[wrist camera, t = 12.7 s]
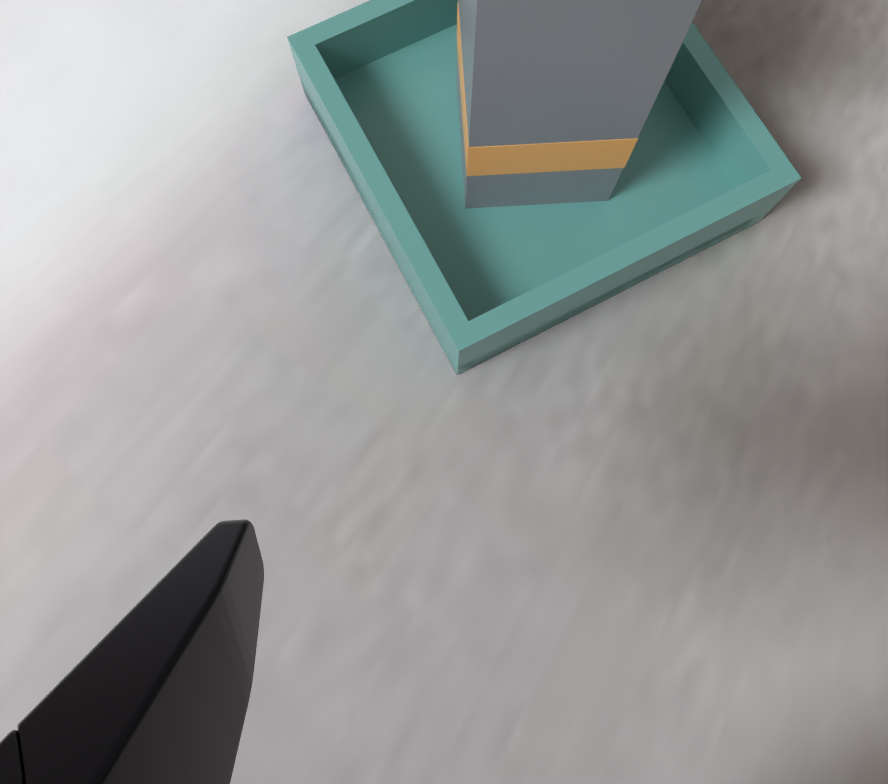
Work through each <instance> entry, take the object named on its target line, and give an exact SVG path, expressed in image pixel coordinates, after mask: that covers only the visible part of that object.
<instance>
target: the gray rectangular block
mask: <svg viewBox="0 0 888 784" xmlns="http://www.w3.org/2000/svg"><path fill="white" fill-rule="evenodd" d="M701 2H702V0H458V2H457V74H456V85H457V100H458V114H459V128H460V142H461V156H462V171H463V185H464V199H465V209H468V208H486V207H504V206H522V205H541V204H559V203H577V202H596V201H608V200H609V198H610V195H611V193H612V191H613V189H614V187H615V185H616V183H617V181H618V178H619V176H620V174H621V172H622V170H623V168H625V166H626V163H627V161H628V159H629V157H630V155H631V153H632V151H633V149H634V147H635V144H636V142H637V140H638V136H639V134H640V132H641V130H642V127H643V125H644V123H645V121H646V119H647V117H648V115H649V112H650V110H651V108H652V106H653V104H654V102H655V100H656V98H657V95H658V93H659V91H660V89H661V87H662V85H663V83H664V81H665V78H666V76H667V74H668V72H669V70H670V68H671V66H672V64H673V61H674V59H675V57H676V55H677V53H678V51H679V49H680V47H681V44H682V42H683V40H684V38H685V36H686V34H687V32H688V29H689V27H690V25H691V23H692V21H693V19H694V17H695V15H696V12H697V10H698V8H699V6H700V4H701Z"/></svg>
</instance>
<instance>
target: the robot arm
mask: <svg viewBox="0 0 888 784" xmlns="http://www.w3.org/2000/svg"><path fill="white" fill-rule="evenodd" d="M263 582H264V567H263V561H262V557H261V553H260V549H259V545H258V542H257V538H256V534H255V530H254V527H253V525H252V523H251V522H250V521H248V520H231V521H222V522H219V523H218V524H216V525H215V526H214V527H213V528H212V529H211V530H210V531H209V532H208V533H207V534H206V535H205V536H204V537H203V538H202V539H201V540H200V541H199V542H198V543H197V544H196V545H195V546H194V547H193V548H192V549H191V550H190V551H189V552H188V553H187V554H186V555H185V556H184V557H183V558H182V559H181V560H180V561H179V563H178V564H177V565H176V566H175V567H174V568H173V569H172V570H171V571H170V572H169V573H168V574H167V575H166V576H165V577H164V578H163V579H162V580H161V581H160V582H159V583H158V584H157V585H156V586H155V587H154V588H153V589H152V590H151V591H150V592H149V593H148V594H147V595H146V596H145V597H144V598H143V599H142V600H141V601H140V602H139V603H138V604H137V605H136V606H135V607H134V608H133V609H132V610H131V611H130V612H129V613H128V614H127V615H126V616H125V617H124V618H123V619H122V620H121V621H120V622H119V623H118V624H117V625H116V626H115V627H114V628H113V629H112V630H111V631H110V632H109V633H108V634H107V635H106V636H105V637H104V638H103V639H102V640H101V641H100V642H99V643H98V644H97V645H96V646H95V647H94V648H93V649H92V650H91V651H90V652H89V653H88V654H87V655H86V656H85V657H84V658H83V659H82V660H81V661H80V662H79V663H78V664H77V665H76V666H75V667H74V668H73V670H72V671H71V672H70V673H69V674H68V675H67V676H66V677H65V678H64V679H63V680H62V681H61V682H60V683H59V684H58V685H57V686H56V687H55V688H54V689H53V690H52V691H51V692H50V693H49V694H48V695H47V696H46V697H45V698H44V699H43V700H42V701H41V702H40V703H39V704H38V705H37V706H36V707H35V708H34V709H33V710H32V711H31V712H30V713H29V714H28V715H27V716H26V717H25V718H24V719H23V720H22V721H21V722H20V723H19V724H18V731H17V730H13V731H11V732H10V733H9V734H8V735H7V736H6V737H5V738H4V739H3V740H2V741H1V742H0V784H230V781H231V777H232V772H233V768H234V763H235V759H236V755H237V750H238V746H239V742H240V737H241V733H242V729H243V724H244V720H245V715H246V711H247V707H248V702H249V697H250V692H251V687H252V680H253V672H254V664H255V655H256V646H257V637H258V628H259V619H260V610H261V601H262V591H263Z"/></svg>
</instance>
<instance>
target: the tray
mask: <svg viewBox="0 0 888 784" xmlns="http://www.w3.org/2000/svg"><path fill="white" fill-rule="evenodd" d="M457 2H458V0H370V1H368V2H366V3H363V4H361V5H359V6H357V7H354V8H352V9H350V10H348V11H345V12H343V13H341V14H338V15H336V16H334V17H332V18H329V19H327V20H325V21H323V22H320V23H318V24H316V25H314V26H311V27H309V28H307V29H305V30H302V31H300V32H298V33H295V34H293V35H291V36H289V37H287V38H288V41H289V44H290V47H291V50H292V54H293V57H294V60H295V63H296V67H297V70H298V73H299V76H300V79H301V83H302V86H303V89H304V92H305V95H306V97H307V98H308V100H309V102H310V104H311V106H312V108H313V109H314V111H315V113H316V115H317V117H318V119H319V121H320V122H321V124H322V126H323V128H324V130H325V132H326V133H327V135H328V137H329V139H330V141H331V143H332V145H333V146H334V148H335V150H336V152H337V154H338V156H339V157H340V159H341V161H342V163H343V165H344V167H345V169H346V170H347V172H348V174H349V176H350V178H351V180H352V181H353V183H354V185H355V187H356V189H357V191H358V193H359V194H360V196H361V198H362V200H363V202H364V204H365V205H366V207H367V209H368V211H369V213H370V215H371V217H372V218H373V220H374V222H375V224H376V226H377V228H378V229H379V231H380V233H381V235H382V237H383V239H384V240H385V242H386V244H387V246H388V248H389V250H390V252H391V253H392V255H393V257H394V259H395V261H396V263H397V264H398V266H399V268H400V270H401V272H402V274H403V276H404V277H405V279H406V281H407V283H408V285H409V287H410V288H411V290H412V292H413V294H414V296H415V298H416V300H417V301H418V303H419V305H420V307H421V309H422V311H423V312H424V314H425V316H426V318H427V320H428V322H429V324H430V325H431V327H432V329H433V331H434V333H435V335H436V336H437V338H438V340H439V342H440V344H441V346H442V348H443V349H444V351H445V353H446V355H447V357H448V359H449V360H450V362H451V364H452V366H453V368H454V370H455V372H456V373H457V375H458V374H460V373H462V372H464V371H466V370H468V369H470V368H472V367H474V366H476V365H478V364H480V363H482V362H484V361H486V360H488V359H490V358H492V357H494V356H496V355H498V354H500V353H501V352H503V351H505V350H507V349H509V348H511V347H513V346H515V345H517V344H519V343H521V342H523V341H525V340H527V339H529V338H531V337H533V336H535V335H537V334H539V333H541V332H543V331H545V330H547V329H549V328H551V327H553V326H555V325H557V324H559V323H561V322H562V321H564V320H566V319H568V318H570V317H572V316H574V315H576V314H578V313H580V312H582V311H584V310H586V309H588V308H590V307H592V306H594V305H596V304H598V303H600V302H602V301H604V300H606V299H608V298H610V297H612V296H614V295H616V294H618V293H620V292H622V291H623V290H625V289H627V288H629V287H631V286H633V285H635V284H637V283H639V282H641V281H643V280H645V279H647V278H649V277H651V276H653V275H655V274H657V273H659V272H661V271H663V270H665V269H667V268H669V267H671V266H673V265H675V264H677V263H679V262H681V261H683V260H684V259H686V258H688V257H690V256H692V255H694V254H696V253H698V252H700V251H702V250H704V249H706V248H708V247H710V246H712V245H714V244H716V243H718V242H720V241H722V240H724V239H726V238H728V237H730V236H732V235H734V234H736V233H738V232H740V231H742V230H743V229H745V228H747V227H749V226H751V225H753V224H755V223H757V222H759V221H761V220H762V219H763V218H764V216H765V215H766V214H767V213H768V212H769V211H770V210H771V209H772V208H773V207H774V206H775V205H776V204H777V203H778V202H779V201H780V200H781V199H782V198H783V197H784V196H785V195H786V194H787V193H788V192H789V191H790V190H791V189H792V188H793V186H794V185H795V184H796V183H797V182H798V181H799V180H800V179H801V177H800V175H799V174H798V172H797V171H796V170H795V168H794V167H793V165H792V164H791V162H790V161H789V160H788V158H787V157H786V155H785V154H784V152H783V151H782V150H781V148H780V147H779V145H778V144H777V142H776V141H775V139H774V138H773V137H772V135H771V134H770V132H769V131H768V129H767V128H766V127H765V125H764V124H763V122H762V121H761V119H760V118H759V117H758V115H757V114H756V112H755V111H754V109H753V108H752V107H751V105H750V104H749V102H748V101H747V99H746V98H745V97H744V95H743V94H742V92H741V91H740V89H739V88H738V87H737V85H736V84H735V82H734V81H733V79H732V78H731V76H730V75H729V74H728V72H727V71H726V69H725V68H724V66H723V65H722V64H721V62H720V61H719V59H718V58H717V56H716V55H715V54H714V52H713V51H712V49H711V48H710V46H709V45H708V44H707V42H706V41H705V39H704V38H703V36H702V35H701V34H700V32H699V31H698V29H697V28H696V26H695V25H694V24H693V22H692V23H691V25H690V27H689V29H688V32H687V34H686V36H685V38H684V40H683V42H682V44H681V47H680V49H679V51H678V53H677V55H676V57H675V59H674V61H673V64H672V66H671V68H670V70H669V72H668V74H667V76H666V78H665V81H664V83H663V85H662V87H661V89H660V91H659V93H658V95H657V98H656V100H655V102H654V104H653V106H652V108H651V110H650V112H649V115H648V117H647V119H646V121H645V123H644V125H643V127H642V130H641V132H640V134H639V136H638V140H637V142H636V144H635V147H634V149H633V151H632V153H631V155H630V157H629V159H628V161H627V163H626V166H625V168H623V170H622V172H621V174H620V176H619V178H618V181H617V183H616V185H615V187H614V189H613V191H612V193H611V195H610V198H609V200H608V201H596V202H577V203H559V204H541V205H522V206H504V207H486V208H468V209H465V199H464V185H463V171H462V156H461V142H460V128H459V114H458V100H457V85H456V74H457Z"/></svg>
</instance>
